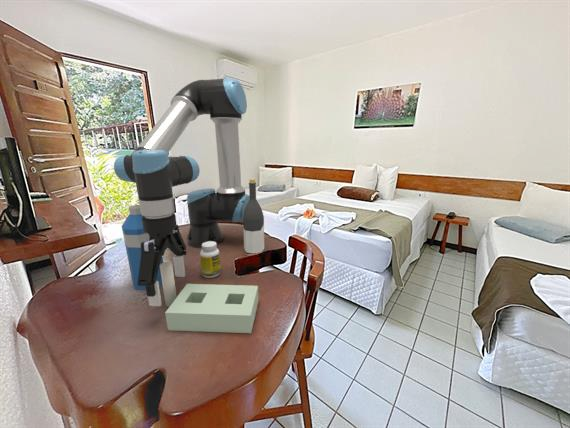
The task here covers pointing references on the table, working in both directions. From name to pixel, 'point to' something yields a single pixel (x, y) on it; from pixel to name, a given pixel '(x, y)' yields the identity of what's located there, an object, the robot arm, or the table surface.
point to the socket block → (213, 308)
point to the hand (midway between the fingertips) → (169, 289)
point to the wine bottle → (253, 223)
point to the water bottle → (136, 244)
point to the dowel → (168, 282)
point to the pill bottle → (210, 260)
